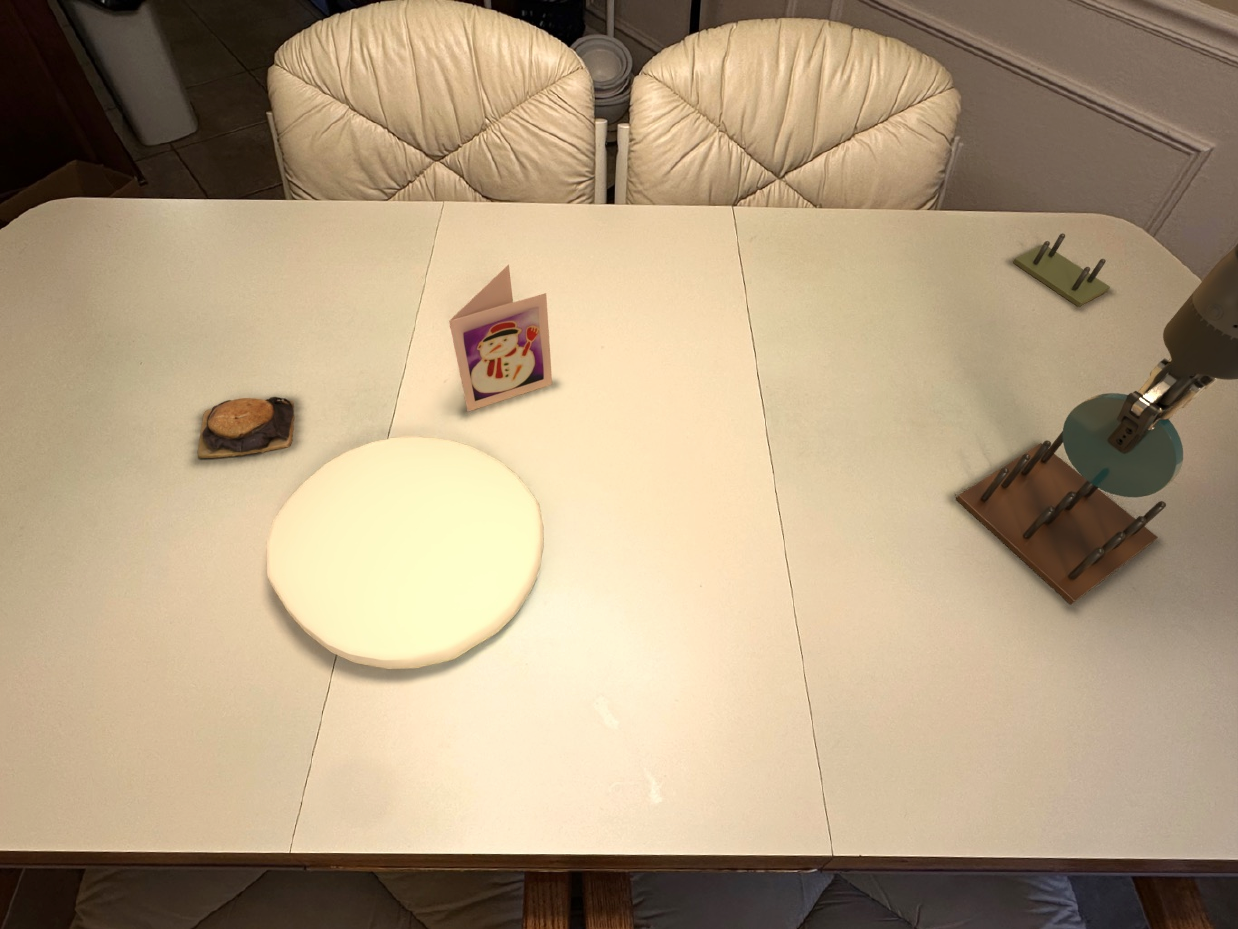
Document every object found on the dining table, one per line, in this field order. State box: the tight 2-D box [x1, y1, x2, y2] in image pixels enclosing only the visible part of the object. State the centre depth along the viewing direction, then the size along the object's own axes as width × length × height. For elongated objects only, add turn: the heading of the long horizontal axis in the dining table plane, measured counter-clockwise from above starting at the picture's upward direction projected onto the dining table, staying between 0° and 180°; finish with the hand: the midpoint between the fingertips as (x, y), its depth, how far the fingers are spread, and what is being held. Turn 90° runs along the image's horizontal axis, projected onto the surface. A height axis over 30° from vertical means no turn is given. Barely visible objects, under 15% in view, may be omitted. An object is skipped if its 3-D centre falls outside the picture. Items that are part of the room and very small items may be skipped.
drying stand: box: [1012, 233, 1111, 308], centre depth 111 cm, size 7×12×5 cm, turn 33°
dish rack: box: [955, 430, 1167, 605], centre depth 83 cm, size 15×16×7 cm
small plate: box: [1062, 392, 1184, 498], centre depth 75 cm, size 1×11×11 cm, turn 33°
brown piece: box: [197, 396, 295, 459], centre depth 89 cm, size 11×8×4 cm
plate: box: [265, 436, 545, 670], centre depth 78 cm, size 28×6×27 cm
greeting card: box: [448, 264, 553, 412], centre depth 90 cm, size 11×7×15 cm, turn 116°
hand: (1123, 442), depth 74 cm, fingers closed on small plate, 1 cm apart
